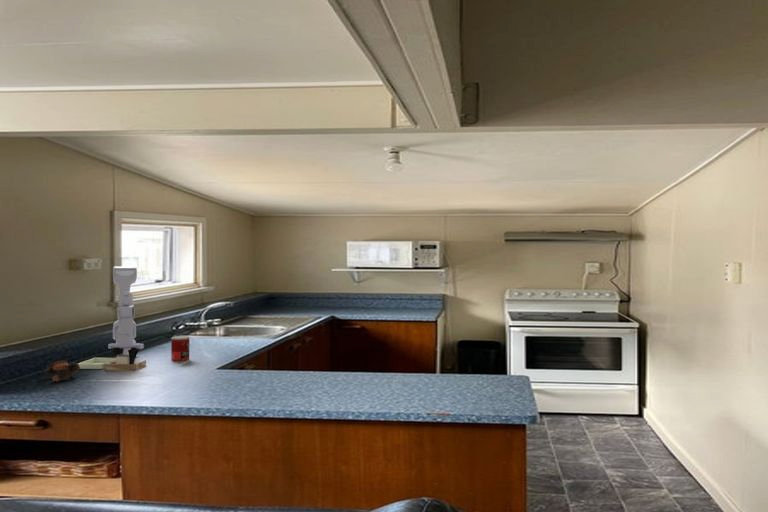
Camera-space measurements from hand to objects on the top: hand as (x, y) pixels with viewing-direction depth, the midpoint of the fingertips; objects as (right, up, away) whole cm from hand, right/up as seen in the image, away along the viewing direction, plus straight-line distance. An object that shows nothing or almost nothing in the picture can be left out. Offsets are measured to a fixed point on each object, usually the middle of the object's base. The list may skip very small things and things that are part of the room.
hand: (125, 365), depth 221 cm
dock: (0, -2, 0) cm, 2 cm away
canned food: (+16, -2, +18) cm, 24 cm away
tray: (-14, -2, +4) cm, 15 cm away
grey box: (0, -1, 0) cm, 1 cm away
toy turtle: (-16, -2, -17) cm, 24 cm away
